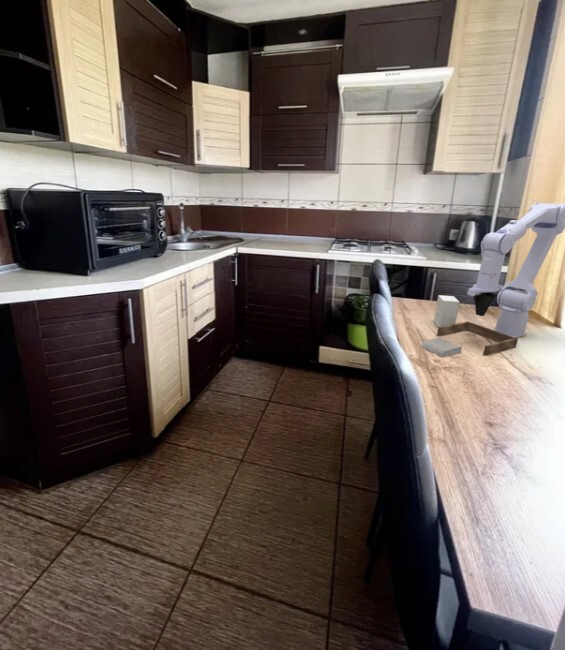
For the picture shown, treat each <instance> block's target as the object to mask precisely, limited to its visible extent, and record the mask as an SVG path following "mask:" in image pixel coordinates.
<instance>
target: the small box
mask: <svg viewBox="0 0 565 650" xmlns="http://www.w3.org/2000/svg"><path fill="white" fill-rule="evenodd" d="M460 303H461V302H460V301H459V300H458V299H457V298H456V297H455V296H454V295H441V294H439V295H438V296H437V300H436V306H435V313H434V317H433V322H434V323H435V325H436V326H437V328H438V327H442V326H447V325H452V324H457V322H456V321H457V317H458V313H459V306H460Z"/></svg>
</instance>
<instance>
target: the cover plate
mask: <svg viewBox="0 0 565 650" xmlns="http://www.w3.org/2000/svg"><path fill="white" fill-rule="evenodd" d="M420 347H421V348H422V349H424V350H427V351H429V352H430V353H432V354H434V353H435V355H437V356H439V357H440V358H445V356H446V357H450V356H453V354H454V355H457V354H461V352H462V348H463V346H461V345H460V344H457V343H454V342H452V341H450V340H448V339H445V338H443V337H441V336H438V337H435V338H430V339H425V340H422V342H421V346H420Z"/></svg>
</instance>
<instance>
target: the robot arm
mask: <svg viewBox="0 0 565 650" xmlns="http://www.w3.org/2000/svg"><path fill="white" fill-rule="evenodd" d="M530 228H531V230H532V231H533V232H534V233H535V234H536V236H535V239H534V240H533V243H532V245H531V247H530V249H529V251H528V253H527V255H526V257H525V259H524V261H523V263H522V265H521V267H520V268H519V271H518V273H517V275H516V277H515V279H513V280H511V281H508V282H506V283H505V284H504V285H502V284H499V281H500V278H501V273H502V270H503V269H502V268H503V265H504V262H505V261H504V260H505V258H506V254H508V253H509V252H510V251H511V250H512V248H513V246H515V243H516V242H517V241H519V240H520V239H522V238H523V237H524V236H525V235H526V234H527V230H528V229H530ZM564 231H565V203H546V202H545V203H543V202H535V203H533V205H530V207H529V209H528V212H527V213H526V214H525V215H524V216H523V217H521V218H520V219H519V220H517V219H516V220H514V219H513V220H510V221H509V222H508V223H507V224H506V225H504V226H502V227H501V228H499V229H497V231H495V232H492V231H491V232H489V233H487V234H485V235H484V237H483V238H482V241H481V242H480V250H481V254H480V256H481V257H482V259H481V262H480V266H479V267H480V268H479V272H478V275H477V281H476V283H474V284H473V285H472V287H469V288H468V289H467V294H466V295H467V296H470V297H472V299H473V301H474V306H475V315H476V316H480V317H484V316H485V315H486V314H487V311H488V310H489V308H490V306H491V305H492V304H493V302H494V301H495V300H496V303H497V304H498V307H499V308H500V310H499V313H498V318H497V321H496V326H495V328H490V329H491V330H494V331H497V332H500V333H503V334H506V335H509V336H512V337H515V338H520V337H523V336H527V335H528V333H527V332H526V328H527V326H528V323H529V318H530V315H529V311H531V310H532V309H533V308H534V306H535V304H536V301H537V297H538V294H539V292H538V290H537V288H536V287H535V286H534V285H533V283H534V282H535V279H537V278H536V277H537V276H538V273H539V271H540V269H541V267H542V265H543V263H544V262H545V259H546V257H547V256H548V253H549V251H550V250H551V247H552V245H553V244H554V241H555V239H556V238H557V236H558V235H560V234H562V233H564ZM496 292H498V293H497V294H496Z"/></svg>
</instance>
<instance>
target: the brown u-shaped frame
mask: <svg viewBox="0 0 565 650" xmlns="http://www.w3.org/2000/svg"><path fill="white" fill-rule="evenodd" d="M491 329H492V328H488V327H485V326H482V325H480V324H476V323H474V322H471V321H463V322H458V323H457V322H456V323H455V324H452V325H447V326H442V327H437V332H436V336H437V337H441V336H446V335H451V334H455V333H460V332H465V331H468V332H471V333H472V334H476V335H478V336H481V337H484V338H487V339H489V340H492V341H495V342H494V343H490V344H487V345H485V346H484V348H483V349H484V350H483V353H482V355H483V356H489V355H492V354H496V353H500V352H504V351H508V350H511V349H515V348H516V347H517V344H518V341H519V337H516V338H515V337H512V336H509V335H506V334H503V333H500V332H497V331H494V330H491Z"/></svg>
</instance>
